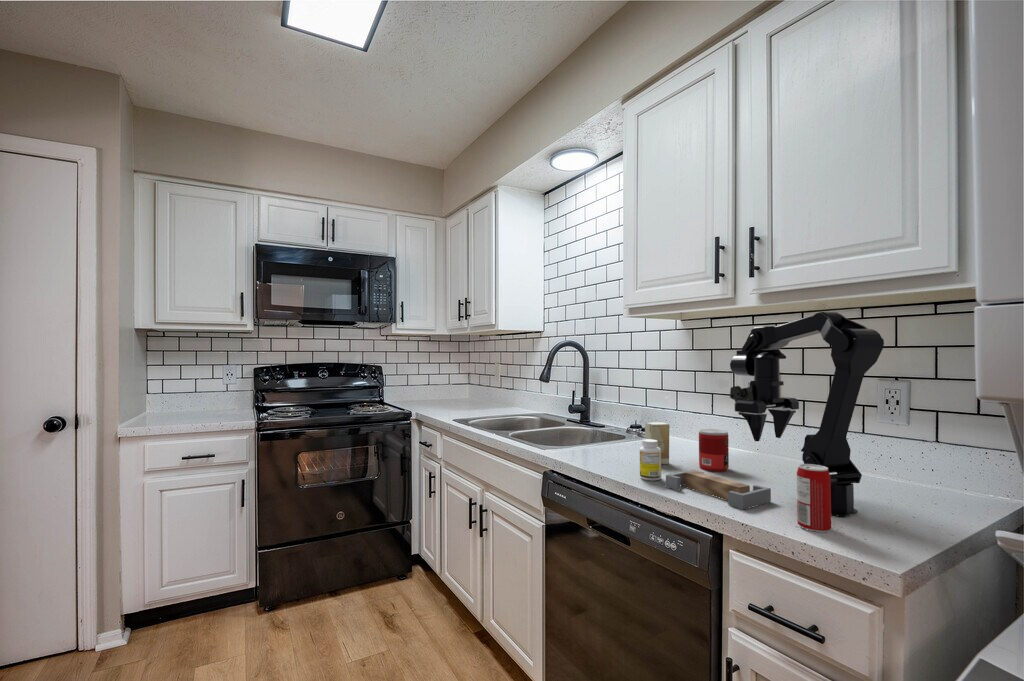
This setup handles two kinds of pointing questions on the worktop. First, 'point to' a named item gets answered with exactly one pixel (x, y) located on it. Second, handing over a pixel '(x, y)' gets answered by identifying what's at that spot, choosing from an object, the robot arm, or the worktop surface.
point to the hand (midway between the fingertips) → (767, 439)
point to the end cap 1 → (676, 480)
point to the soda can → (814, 497)
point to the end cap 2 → (750, 497)
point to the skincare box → (659, 438)
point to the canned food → (713, 450)
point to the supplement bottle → (650, 460)
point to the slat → (713, 484)
